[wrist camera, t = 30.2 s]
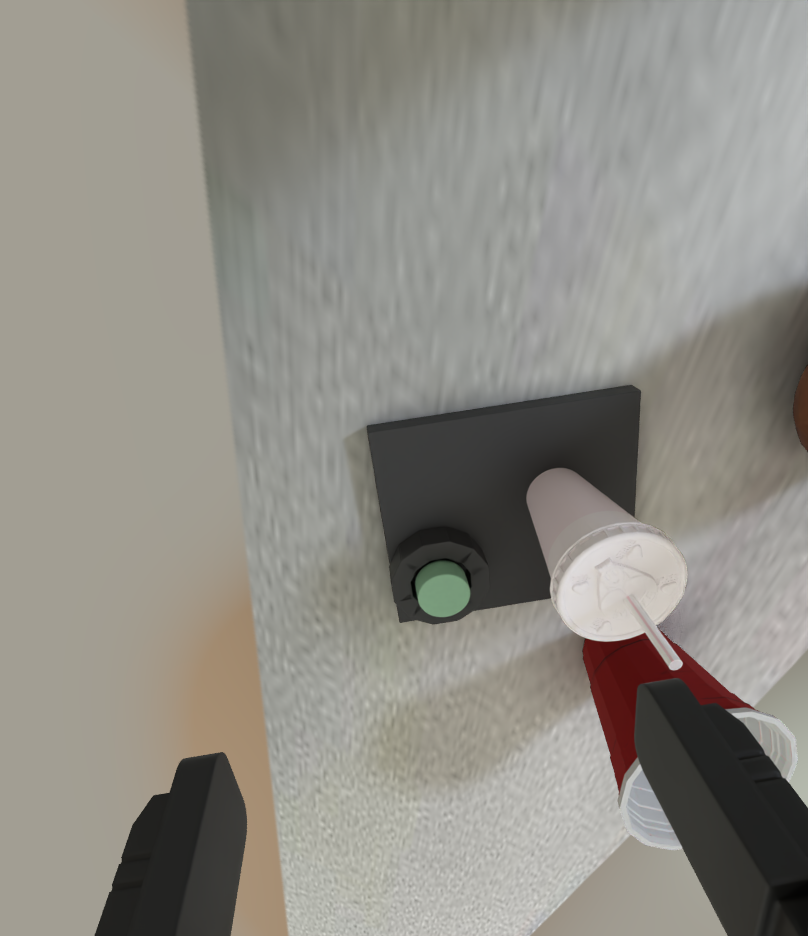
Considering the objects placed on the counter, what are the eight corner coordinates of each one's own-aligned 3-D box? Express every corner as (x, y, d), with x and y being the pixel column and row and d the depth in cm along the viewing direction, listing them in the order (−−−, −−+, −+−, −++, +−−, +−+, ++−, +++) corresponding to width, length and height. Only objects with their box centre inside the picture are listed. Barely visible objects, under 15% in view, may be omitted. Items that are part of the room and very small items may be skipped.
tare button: (412, 564, 35) (414, 579, 34) (463, 555, 35) (468, 570, 34) (418, 605, 37) (421, 621, 35) (467, 597, 37) (472, 613, 35)
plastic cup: (710, 655, 44) (828, 802, 34) (584, 716, 46) (658, 875, 35) (664, 557, 40) (782, 691, 29) (527, 629, 42) (590, 780, 31)
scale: (366, 425, 34) (367, 445, 31) (632, 384, 34) (656, 400, 32) (397, 611, 40) (401, 641, 37) (623, 575, 40) (643, 602, 38)
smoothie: (539, 555, 37) (637, 737, 25) (484, 489, 35) (562, 653, 22) (624, 499, 36) (772, 660, 24) (573, 426, 34) (708, 562, 21)
